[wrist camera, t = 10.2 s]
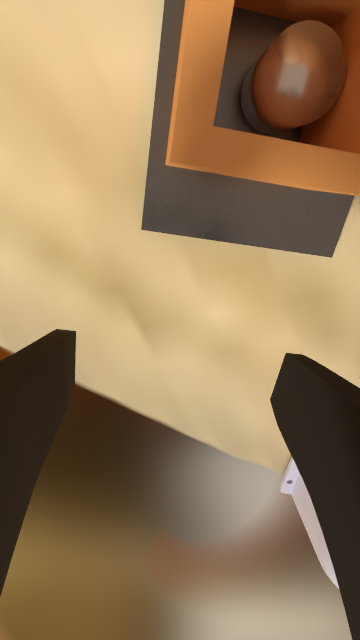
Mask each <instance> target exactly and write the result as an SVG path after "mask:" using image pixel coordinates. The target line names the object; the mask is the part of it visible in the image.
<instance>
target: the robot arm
mask: <svg viewBox="0 0 360 640" xmlns="http://www.w3.org/2000/svg"><path fill="white" fill-rule="evenodd" d="M75 351H76V331H69V330H59V329H56V330H54V331H52V332H50V333H49V334H47V335H45V336H43V337H42V338H40V339H38V340H37V341H35V342H33V343H32V344H30V345H28V346H27V347H25V348H23V349H21V350H20V351H18V352H16V353H14V354H13V355H11V356H9V357H7V358H5V359H3V360H1V361H0V596H1V592H2V589H3V586H4V582H5V579H6V575H7V572H8V569H9V565H10V562H11V559H12V555H13V552H14V549H15V545H16V542H17V539H18V536H19V533H20V530H21V526H22V523H23V519H24V517H25V514H26V511H27V507H28V505H29V501H30V498H31V495H32V492H33V489H34V486H35V483H36V481H37V478H38V476H39V473H40V471H41V468H42V466H43V464H44V462H45V459H46V457H47V455H48V453H49V450H50V448H51V446H52V444H53V441H54V439H55V437H56V434H57V432H58V430H59V427H60V425H61V423H62V421H63V418H64V416H65V414H66V411H67V409H68V405H69V402H70V399H71V395H72V391H73V388H74V384H75ZM270 401H271V404H272V408H273V412H274V415H275V418H276V421H277V425H278V427H279V429H280V432H281V434H282V436H283V438H284V440H285V443H286V445H287V447H288V449H289V451H290V453H291V456H292V457H291V459H290V462H289V464H288V467H287V469H286V472H285V474H284V476H283V479H282V482H281V484H280V486H279V488H280V491H281V492H282V493H284V494H292V497H293V499H294V502H295V504H296V506H297V509H298V511H299V513H300V516H301V518H302V521H303V523H304V525H305V528H306V530H307V533H308V535H309V537H310V539H311V542H312V544H313V547H314V549H315V552H316V554H317V556H318V559H319V561H320V563H321V565H322V567H323V569H324V571H325V572H326V574H327V575H328V577H329V578H330V579H331V581H332V582H333V583H334V584H335V585H336V586H337V587H338V588H339V590H340V593H341V596H342V600H343V604H344V607H345V611H346V615H347V619H348V623H349V627H350V632H351V636H352V640H360V388H359V387H357V386H355V385H354V384H352V383H350V382H349V381H347V380H345V379H344V378H342V377H341V376H339V375H337V374H336V373H334V372H333V371H331V370H329V369H328V368H326V367H324V366H323V365H321V364H319V363H318V362H316V361H314V360H312V359H310V358H308V357H306V356H304V355H301V354H291V353H286V354H285V357H284V360H283V363H282V366H281V369H280V372H279V375H278V378H277V381H276V384H275V387H274V390H273V393H272V396H271V399H270Z"/></svg>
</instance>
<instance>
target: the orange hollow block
mask: <svg viewBox="0 0 360 640" xmlns="http://www.w3.org/2000/svg"><path fill="white" fill-rule="evenodd" d="M233 6H234V7H238V8H242V9H246V10H250V11H254V12H258V13H263V14H267V15H271V16H275V17H279V18H283V19H287V20H291V21H295V22H301V21H305V20H315V21H319V22H322V23H324V24H326V25H328V26H329V27H331V28H332V29H333V30H334V31H335V32H336V34H337V35H338V37H339V38H340V40H341V42H342V45H343V48H344V51H345V57H346V73H345V79H344V83H343V86H342V89H341V92H340V94H339V96H338V98H337V99H336V101H335V103H334V104H333V105H332V107H331V108H330V109H329V110H328V111H327V112H326V113H325V114H324V115H323V116H322V117H320V118H319V119H317V120H315V121H313V122H311V123H308V124H305V125H304V126H303V129H302V133H301V137H300V140H299V142H294V141H288V140H283V139H278V138H273V137H268V136H262V135H257V134H252V133H247V132H242V131H236V130H231V129H226V128H221V127H216V126H213V124H214V118H215V112H216V106H217V100H218V95H219V89H220V83H221V77H222V71H223V65H224V59H225V53H226V48H227V42H228V36H229V30H230V24H231V18H232V12H233ZM165 165H168V166H174V167H180V168H186V169H192V170H197V171H203V172H209V173H215V174H220V175H226V176H232V177H238V178H243V179H249V180H255V181H261V182H266V183H272V184H278V185H284V186H289V187H295V188H301V189H307V190H314V191H323V192H331V193H339V194H348V195H356V196H360V0H185V7H184V15H183V24H182V32H181V40H180V48H179V56H178V64H177V73H176V81H175V89H174V97H173V105H172V114H171V122H170V130H169V138H168V146H167V154H166V163H165Z"/></svg>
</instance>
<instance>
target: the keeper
mask: <svg viewBox="0 0 360 640" xmlns="http://www.w3.org/2000/svg"><path fill="white" fill-rule="evenodd" d="M184 7H185V0H165V3H164V13H163V22H162V32H161V42H160V52H159V62H158V71H157V81H156V91H155V101H154V111H153V120H152V130H151V140H150V150H149V160H148V169H147V179H146V189H145V199H144V209H143V219H142V228H141V230H147V231H154V232H161V233H168V234H175V235H181V236H188V237H195V238H202V239H209V240H216V241H222V242H229V243H236V244H243V245H250V246H257V247H264V248H270V249H277V250H284V251H291V252H298V253H305V254H311V255H318V256H325V257H332V256H333V253H334V251H335V248H336V245H337V242H338V239H339V237H340V234H341V231H342V228H343V225H344V222H345V220H346V217H347V214H348V211H349V208H350V206H351V203H352V200H353V197H354V195H348V194H339V193H331V192H323V191H314V190H307V189H301V188H295V187H289V186H284V185H278V184H272V183H266V182H261V181H255V180H249V179H243V178H238V177H232V176H226V175H220V174H215V173H209V172H203V171H197V170H192V169H186V168H180V167H174V166H168V165H165V163H166V154H167V146H168V138H169V130H170V122H171V114H172V105H173V97H174V89H175V81H176V73H177V64H178V56H179V48H180V40H181V32H182V24H183V15H184ZM345 73H346V57H345V51H344V48H343V45H342V42H341V40H340V38H339V37H338V35H337V34H336V32H335V31H334V30H333V29H332V28H331V27H329V26H328V25H326V24H324V23H322V22H319V21H315V20H305V21H301V22H295V21H291V20H287V19H283V18H279V17H275V16H271V15H267V14H263V13H258V12H254V11H250V10H246V9H242V8H238V7H234V6H233V12H232V18H231V24H230V30H229V36H228V42H227V48H226V53H225V59H224V65H223V71H222V77H221V83H220V89H219V95H218V100H217V106H216V112H215V118H214V124H213V126H216V127H221V128H226V129H231V130H236V131H242V132H247V133H252V134H257V135H262V136H268V137H273V138H278V139H283V140H288V141H294V142H299V140H300V137H301V133H302V129H303V126H304V125H305V124H308V123H311V122H313V121H315V120H317V119H319V118H320V117H322V116H323V115H324V114H325V113H326V112H327V111H328V110H329V109H330V108H331V107H332V105H333V104H334V103H335V101H336V99H337V98H338V96H339V94H340V92H341V89H342V86H343V83H344V79H345Z"/></svg>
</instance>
